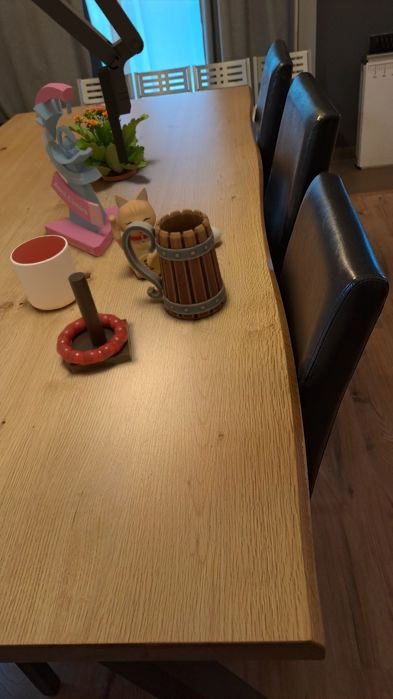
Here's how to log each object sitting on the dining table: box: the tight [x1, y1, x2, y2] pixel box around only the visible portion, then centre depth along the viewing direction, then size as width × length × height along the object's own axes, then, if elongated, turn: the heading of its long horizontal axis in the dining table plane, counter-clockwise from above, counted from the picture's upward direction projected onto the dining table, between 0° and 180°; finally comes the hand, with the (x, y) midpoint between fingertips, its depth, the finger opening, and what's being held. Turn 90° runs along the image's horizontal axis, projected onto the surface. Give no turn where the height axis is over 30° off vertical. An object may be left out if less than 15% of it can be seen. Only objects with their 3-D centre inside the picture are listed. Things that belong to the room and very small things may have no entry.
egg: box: [210, 225, 223, 246], centre depth 97 cm, size 4×6×4 cm, turn 98°
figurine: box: [109, 187, 161, 279], centre depth 90 cm, size 9×10×15 cm
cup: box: [9, 234, 79, 311], centre depth 89 cm, size 10×10×10 cm
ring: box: [56, 312, 128, 365], centre depth 77 cm, size 11×11×2 cm
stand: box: [68, 271, 132, 374], centre depth 74 cm, size 9×9×14 cm
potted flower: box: [66, 104, 150, 182], centre depth 128 cm, size 25×24×18 cm
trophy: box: [32, 82, 121, 257], centre depth 101 cm, size 20×17×30 cm
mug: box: [121, 208, 226, 320], centre depth 80 cm, size 16×11×15 cm
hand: (42, 174), depth 41 cm, fingers open, 13 cm apart
